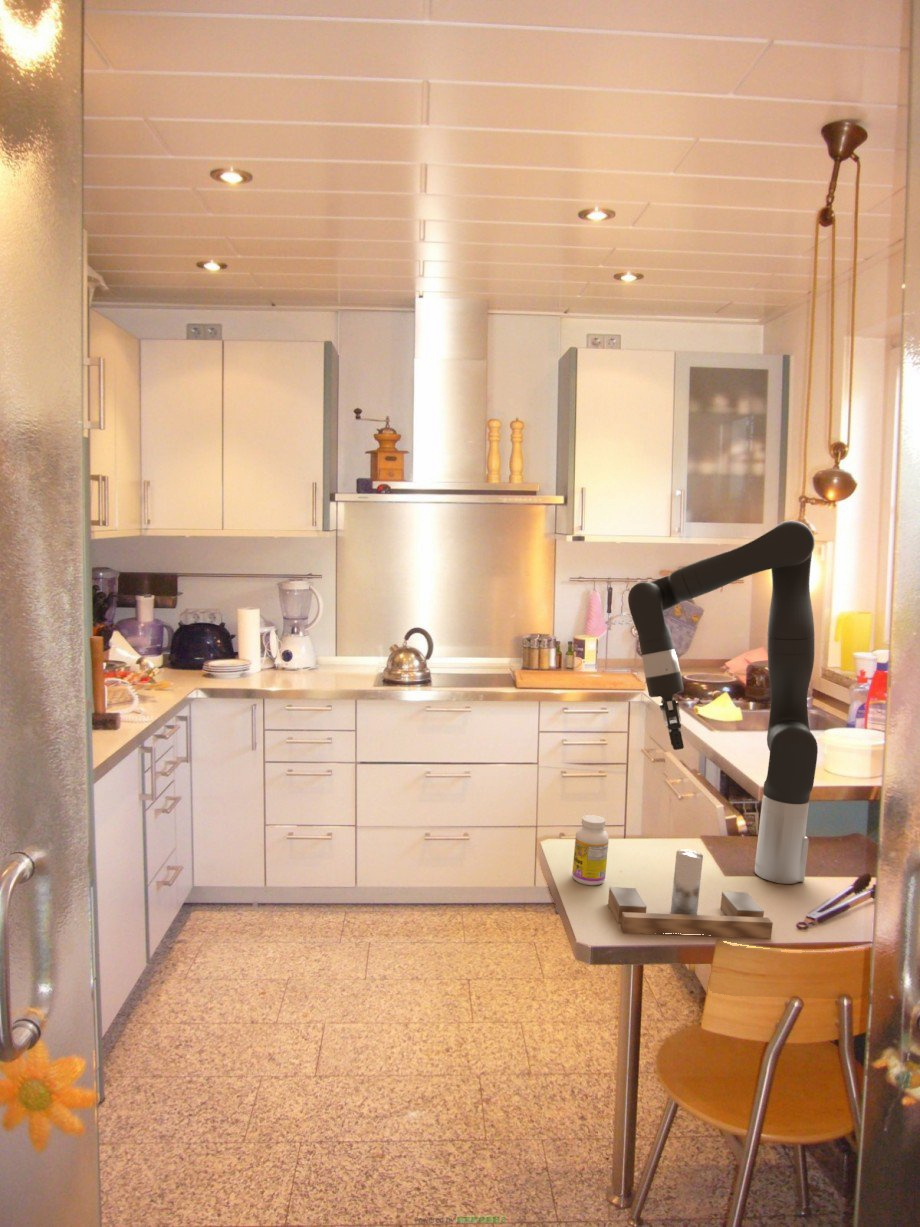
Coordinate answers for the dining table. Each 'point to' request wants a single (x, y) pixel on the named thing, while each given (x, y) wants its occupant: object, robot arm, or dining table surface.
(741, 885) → the dining table surface
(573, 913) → the dining table surface
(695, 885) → the link pin
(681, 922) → the rail with metal-top blocks
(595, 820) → the supplement bottle
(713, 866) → the dining table surface
